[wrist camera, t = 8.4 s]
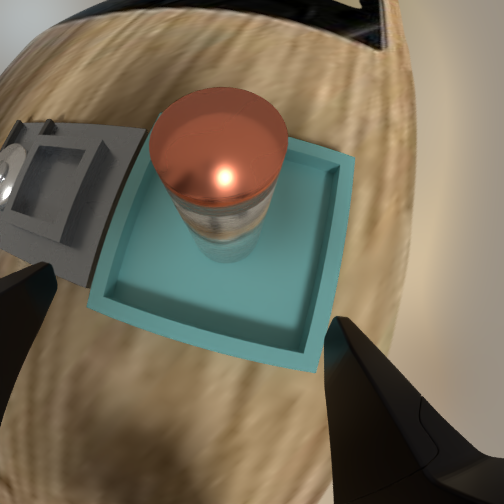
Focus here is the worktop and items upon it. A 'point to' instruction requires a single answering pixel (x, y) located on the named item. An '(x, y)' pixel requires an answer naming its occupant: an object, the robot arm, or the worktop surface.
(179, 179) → the pin
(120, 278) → the tray
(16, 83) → the worktop surface
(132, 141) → the block
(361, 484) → the robot arm
